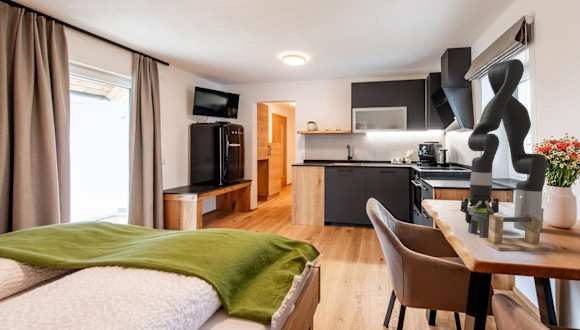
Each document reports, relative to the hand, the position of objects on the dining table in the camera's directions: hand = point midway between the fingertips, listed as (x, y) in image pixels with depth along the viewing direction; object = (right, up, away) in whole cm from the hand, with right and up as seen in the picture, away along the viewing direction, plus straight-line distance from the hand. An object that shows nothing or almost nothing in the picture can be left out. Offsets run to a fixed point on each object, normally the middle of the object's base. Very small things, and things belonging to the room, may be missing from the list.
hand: (478, 223), depth 121 cm
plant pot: (+7, -5, +11) cm, 13 cm away
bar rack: (+5, -6, -11) cm, 14 cm away
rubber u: (0, -5, 0) cm, 5 cm away
